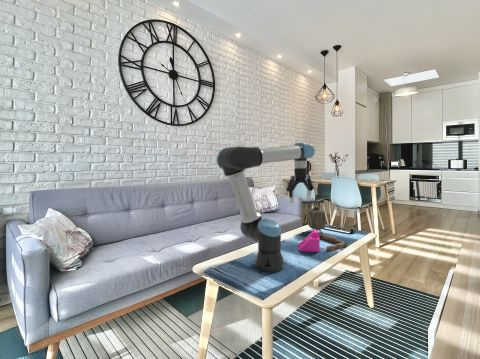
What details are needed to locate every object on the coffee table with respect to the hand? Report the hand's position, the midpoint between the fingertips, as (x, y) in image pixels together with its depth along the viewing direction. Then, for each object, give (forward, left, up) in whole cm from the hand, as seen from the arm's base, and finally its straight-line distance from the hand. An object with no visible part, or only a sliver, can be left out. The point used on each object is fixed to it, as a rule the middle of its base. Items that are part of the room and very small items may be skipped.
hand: (300, 201), depth 157 cm
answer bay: (+16, -5, -29) cm, 33 cm away
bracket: (+2, -6, -29) cm, 30 cm away
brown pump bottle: (+29, +16, -29) cm, 44 cm away
